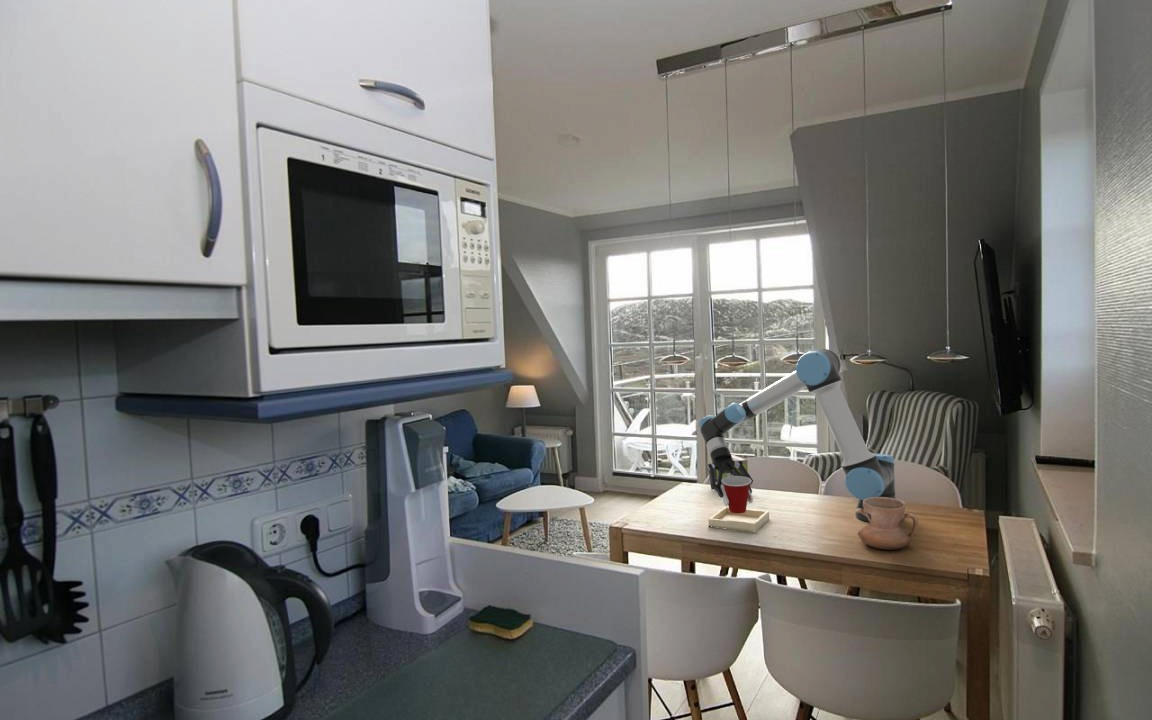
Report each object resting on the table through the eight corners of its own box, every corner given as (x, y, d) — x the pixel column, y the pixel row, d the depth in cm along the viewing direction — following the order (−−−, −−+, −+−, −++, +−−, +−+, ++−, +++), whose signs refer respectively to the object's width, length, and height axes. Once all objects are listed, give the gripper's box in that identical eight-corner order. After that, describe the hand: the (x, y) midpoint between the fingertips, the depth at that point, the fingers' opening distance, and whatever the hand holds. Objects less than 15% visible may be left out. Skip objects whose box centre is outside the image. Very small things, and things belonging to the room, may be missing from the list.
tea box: (749, 493, 275) (747, 459, 275) (728, 496, 273) (726, 461, 272) (733, 485, 290) (731, 453, 289) (712, 488, 288) (711, 455, 287)
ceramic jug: (853, 549, 201) (852, 505, 201) (858, 535, 214) (857, 493, 213) (917, 558, 193) (917, 511, 192) (919, 542, 205) (918, 498, 204)
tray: (769, 519, 237) (769, 511, 237) (754, 532, 223) (754, 524, 223) (725, 514, 247) (725, 506, 247) (708, 527, 233) (708, 518, 233)
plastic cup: (722, 515, 231) (720, 483, 231) (722, 507, 242) (721, 475, 241) (753, 516, 229) (752, 483, 228) (752, 507, 239) (751, 475, 239)
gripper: (742, 454, 253) (763, 504, 238) (690, 459, 249) (709, 511, 234) (747, 443, 248) (769, 494, 233) (695, 448, 243) (714, 500, 229)
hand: (739, 502), depth 233 cm, fingers closed on plastic cup, 9 cm apart
